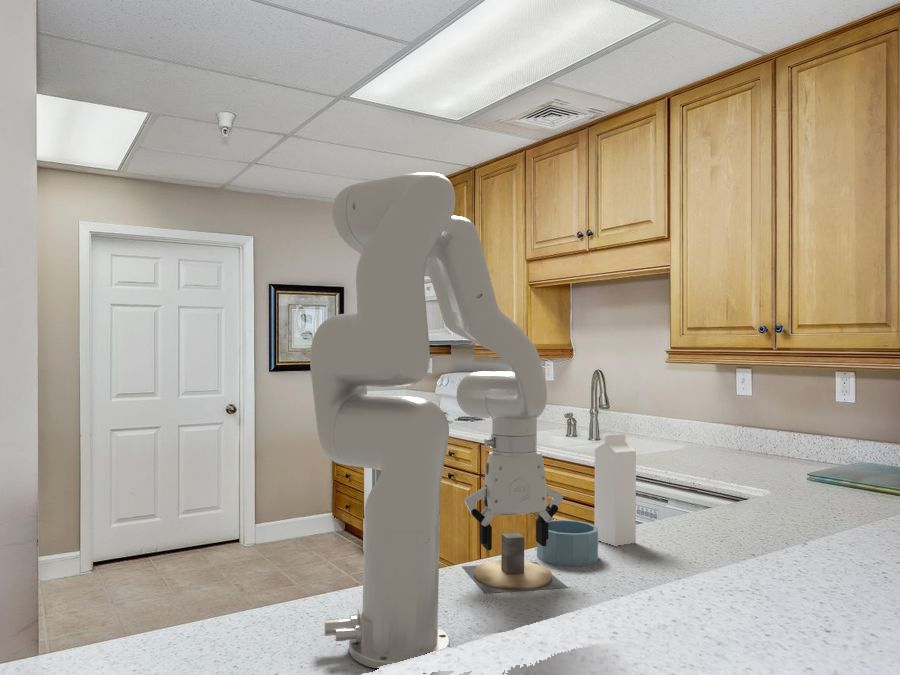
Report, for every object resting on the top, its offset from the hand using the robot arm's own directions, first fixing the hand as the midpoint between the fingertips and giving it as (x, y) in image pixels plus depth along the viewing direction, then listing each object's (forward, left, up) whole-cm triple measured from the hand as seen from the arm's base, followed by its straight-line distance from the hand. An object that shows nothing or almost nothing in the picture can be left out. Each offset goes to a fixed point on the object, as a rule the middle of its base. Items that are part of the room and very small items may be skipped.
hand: (514, 546), depth 110 cm
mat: (0, 0, -5) cm, 5 cm away
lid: (0, 0, -5) cm, 5 cm away
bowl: (+14, +9, -5) cm, 17 cm away
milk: (+29, +19, -6) cm, 35 cm away
